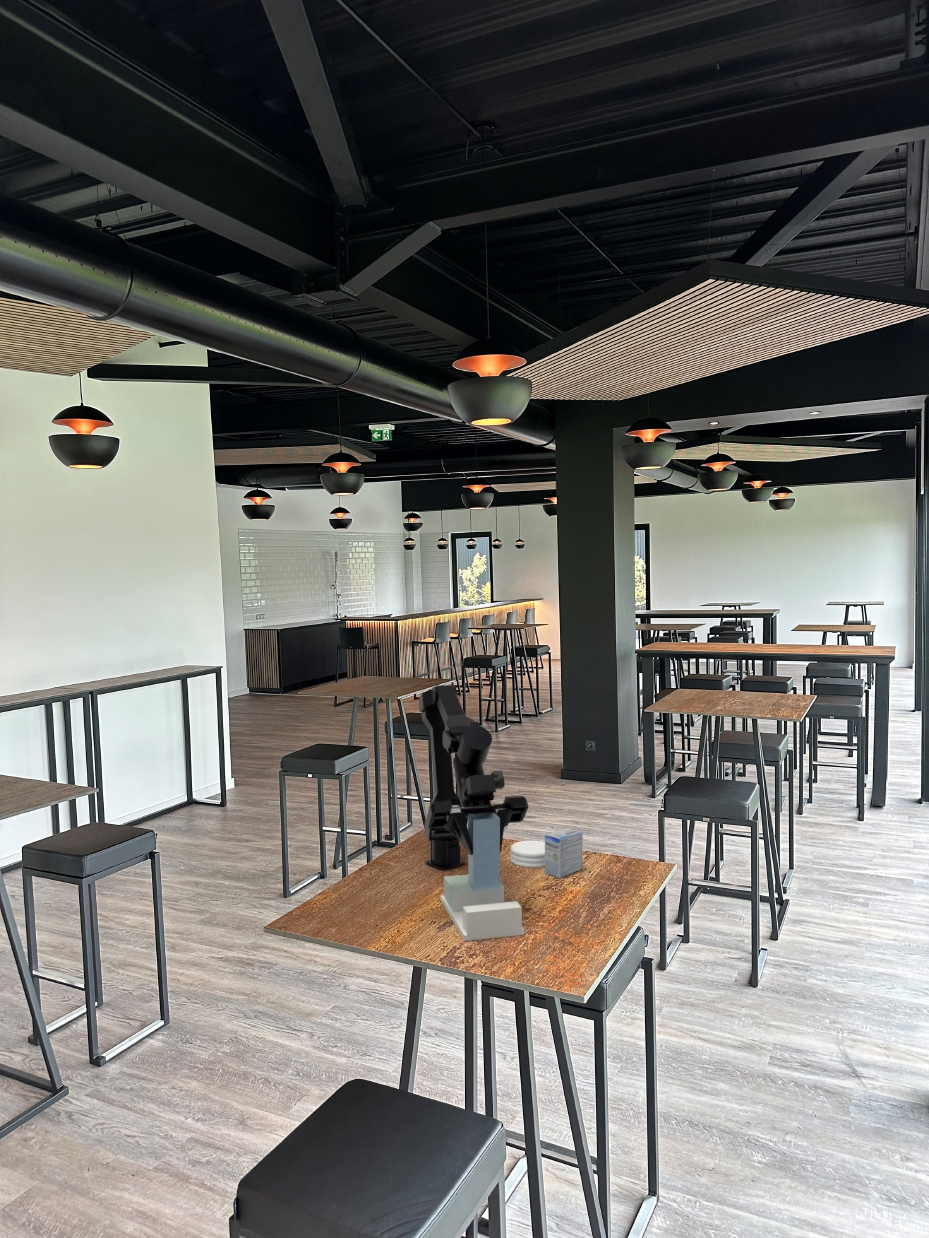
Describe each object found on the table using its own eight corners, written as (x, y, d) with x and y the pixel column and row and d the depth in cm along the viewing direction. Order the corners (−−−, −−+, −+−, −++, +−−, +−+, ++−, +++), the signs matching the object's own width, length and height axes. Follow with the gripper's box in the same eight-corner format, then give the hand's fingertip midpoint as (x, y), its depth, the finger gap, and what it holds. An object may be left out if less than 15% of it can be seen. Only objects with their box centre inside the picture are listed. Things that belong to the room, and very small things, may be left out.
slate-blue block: (468, 883, 153) (467, 814, 152) (494, 881, 154) (493, 812, 154) (473, 890, 149) (473, 819, 148) (500, 888, 150) (499, 818, 150)
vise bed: (440, 899, 163) (440, 875, 163) (493, 894, 166) (493, 870, 165) (464, 941, 143) (464, 912, 143) (524, 934, 146) (524, 906, 146)
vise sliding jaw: (444, 896, 162) (443, 876, 162) (492, 891, 164) (492, 872, 164) (453, 911, 154) (453, 890, 154) (504, 906, 157) (504, 885, 156)
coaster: (506, 866, 184) (506, 851, 183) (515, 853, 193) (515, 838, 193) (550, 870, 181) (550, 854, 181) (557, 856, 190) (557, 841, 190)
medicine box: (567, 865, 183) (566, 827, 183) (583, 870, 180) (583, 831, 180) (544, 874, 178) (544, 834, 178) (560, 879, 175) (560, 838, 174)
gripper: (429, 758, 152) (442, 834, 142) (525, 753, 157) (544, 826, 146) (421, 790, 160) (433, 864, 150) (513, 785, 165) (530, 856, 154)
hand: (485, 852), depth 150 cm, fingers closed on slate-blue block, 5 cm apart
